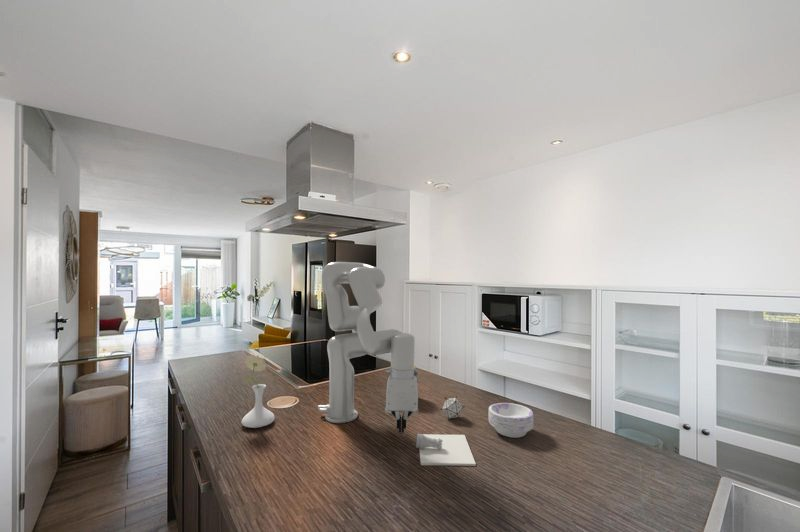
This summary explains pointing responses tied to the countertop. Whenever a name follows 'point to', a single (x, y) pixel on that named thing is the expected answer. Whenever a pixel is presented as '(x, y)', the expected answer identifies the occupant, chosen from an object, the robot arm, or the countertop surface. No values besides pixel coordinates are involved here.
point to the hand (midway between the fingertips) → (401, 430)
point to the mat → (448, 451)
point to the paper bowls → (511, 419)
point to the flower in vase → (257, 397)
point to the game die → (452, 407)
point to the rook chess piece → (428, 442)
